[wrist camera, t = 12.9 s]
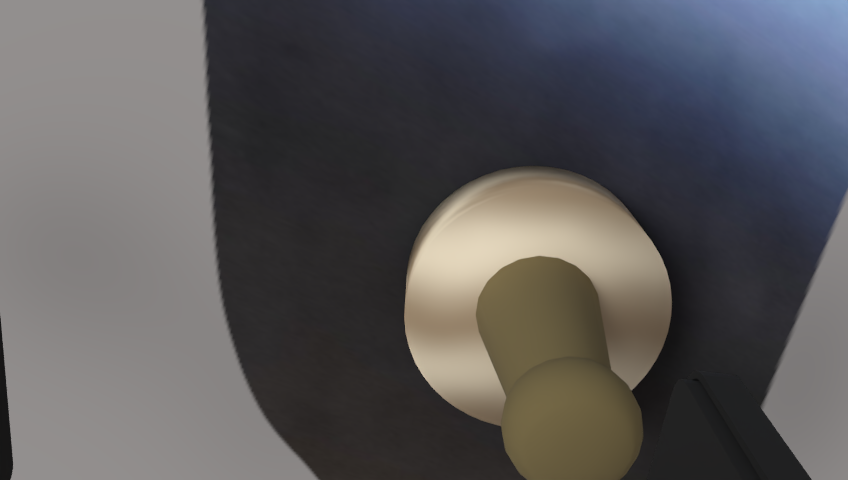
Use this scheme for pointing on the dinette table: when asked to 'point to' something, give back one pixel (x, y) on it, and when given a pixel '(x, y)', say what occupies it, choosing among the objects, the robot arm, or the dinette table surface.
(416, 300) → the disc
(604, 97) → the dinette table surface
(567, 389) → the olive pawn
